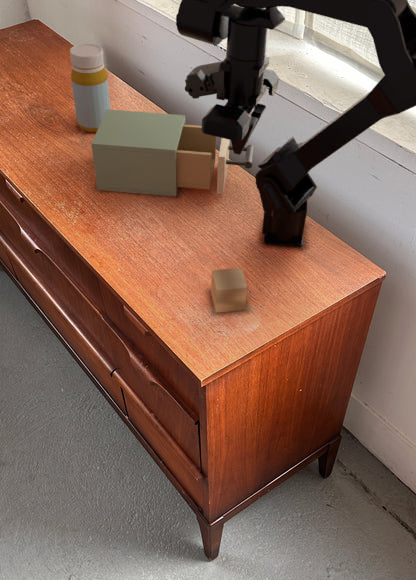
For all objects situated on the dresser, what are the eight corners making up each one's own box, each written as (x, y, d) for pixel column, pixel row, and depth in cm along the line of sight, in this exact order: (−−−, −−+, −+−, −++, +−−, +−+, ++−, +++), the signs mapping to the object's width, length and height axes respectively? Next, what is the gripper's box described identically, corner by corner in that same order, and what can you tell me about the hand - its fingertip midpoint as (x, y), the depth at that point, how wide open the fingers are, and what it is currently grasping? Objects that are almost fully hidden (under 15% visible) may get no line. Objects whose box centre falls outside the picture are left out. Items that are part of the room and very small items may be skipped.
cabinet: (185, 160, 122) (185, 115, 115) (176, 196, 113) (175, 150, 107) (111, 154, 123) (106, 109, 116) (96, 190, 114) (91, 143, 107)
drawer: (253, 163, 120) (256, 126, 115) (249, 196, 113) (252, 159, 107) (159, 155, 121) (157, 119, 116) (149, 188, 113) (147, 151, 108)
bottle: (105, 135, 127) (97, 59, 116) (72, 131, 128) (61, 55, 117) (116, 119, 132) (109, 44, 120) (84, 115, 133) (75, 40, 121)
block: (239, 290, 97) (241, 267, 94) (245, 310, 94) (247, 287, 91) (210, 292, 96) (211, 270, 93) (215, 312, 94) (216, 290, 90)
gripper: (216, 19, 97) (211, 116, 109) (168, 67, 85) (168, 170, 97) (285, 33, 94) (273, 130, 106) (245, 84, 83) (236, 187, 95)
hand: (237, 153), depth 101 cm, fingers closed
